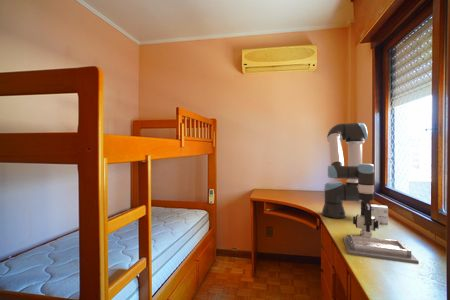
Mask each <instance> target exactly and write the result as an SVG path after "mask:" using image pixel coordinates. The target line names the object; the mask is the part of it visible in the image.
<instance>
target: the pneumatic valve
mask: <svg viewBox="0 0 450 300" xmlns="http://www.w3.org/2000/svg"><path fill="white" fill-rule="evenodd" d="M352 224H353V225H354V226H355V228H357V229H361V230H360V231H359V234H360V235H359V236H363V237H364V225H363V224H365V217H364V215H361V214H356V215H355V216H353V218H352ZM379 228H380V223H379V220H377V219H376V217H372V226H371V237H372V238H373V233H372V232H376V230H379Z"/></svg>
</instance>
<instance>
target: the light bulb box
mask: <svg viewBox="0 0 450 300" xmlns="http://www.w3.org/2000/svg"><path fill="white" fill-rule="evenodd" d="M370 204H371V207H372V208H371V217H376V219H377V220H379V224H384V225H389V208H388V207H389V206H388V205H383V204H382V205H381V204H372V203H370Z"/></svg>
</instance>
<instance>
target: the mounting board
mask: <svg viewBox="0 0 450 300" xmlns="http://www.w3.org/2000/svg"><path fill="white" fill-rule="evenodd" d="M342 240H343V242H344V246H345V248H346V252H347V254H348V255H353V256H361V257H367V258H377V259H381V260H382V259H384V260H390V261H400V262H404V263H405V262H406V263H412V264H419V263H420V261H419V260H418V259H417V257H415V256H414V255H413V253H411V257H407V256H399V255H391V254H384V253H376V252H368V251H360V250H353V249H350V246H349V244H348V241H347V236H343V237H342Z"/></svg>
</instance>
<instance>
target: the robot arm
mask: <svg viewBox="0 0 450 300" xmlns="http://www.w3.org/2000/svg"><path fill="white" fill-rule="evenodd" d="M367 139H368V128H367V126H366V124H365V123H363V122H349V123H348V122H347V123H346V122H345V123H337V124H335V125H333V126H332V127H331V128H330V129H329V131H328V132H327V135H326V141H327V142H328V147H329V157H330V158H329V159H330V161H329V162H330V165H328V166H327V176H328V178H330V179H344V180H345V179H347V180H345V183H343V181H330V182H329V181H328V182H326V183H325V184H324V190H323V191H324V204H323V206H322V207H323V208H322V211H321V214H322V216H325V217H328V218H331V219H332V218H333V219H335V218H336V219H340V218H341V219H343V218H346V210H345V208H344V206H343V205H344V204H343V202H353V203H360V215H364V217H365V224H363V225H364V237H371V232H372V230H371V226H372V217H371V208H372V207H371V204H372V203H371V202H373V201H375V165H374V164H372V163H363V144H365V141H366V140H367ZM342 141H345V144H347V153H348V154H347V156H348V157H347V163H348V164H347V165H345V160H344V153H343V144H342Z"/></svg>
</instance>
